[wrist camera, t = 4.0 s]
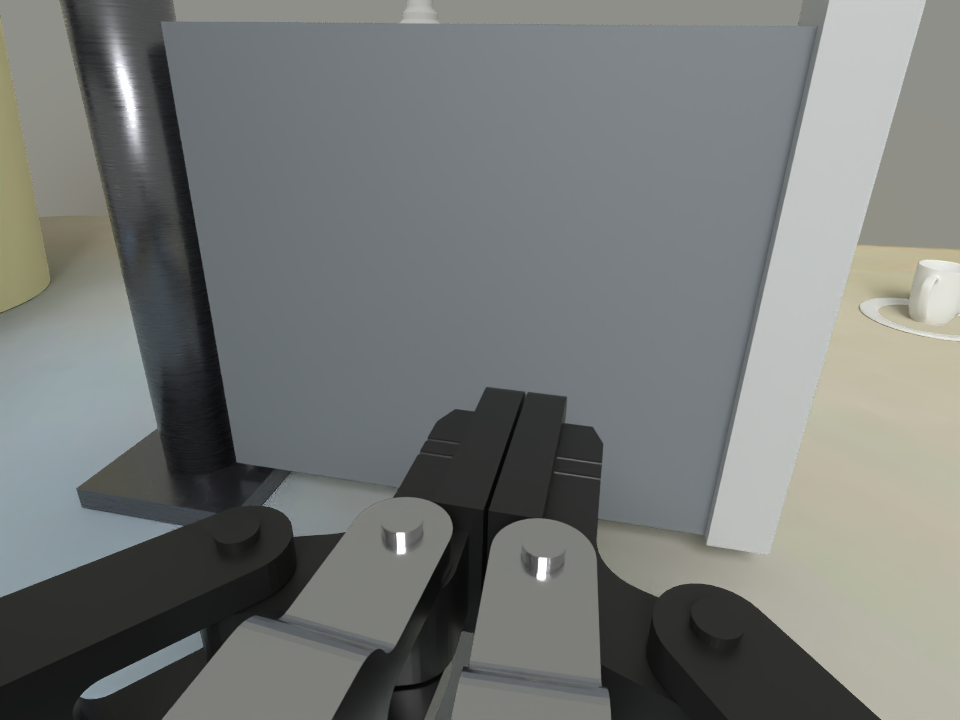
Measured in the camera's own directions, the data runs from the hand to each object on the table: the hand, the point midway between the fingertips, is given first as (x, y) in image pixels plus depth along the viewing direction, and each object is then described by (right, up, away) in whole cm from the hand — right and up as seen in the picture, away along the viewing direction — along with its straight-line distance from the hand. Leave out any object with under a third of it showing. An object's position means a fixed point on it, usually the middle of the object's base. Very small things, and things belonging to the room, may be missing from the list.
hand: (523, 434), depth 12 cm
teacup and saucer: (+32, +3, +29) cm, 43 cm away
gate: (-1, -3, +10) cm, 10 cm away
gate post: (-11, -3, +12) cm, 17 cm away
